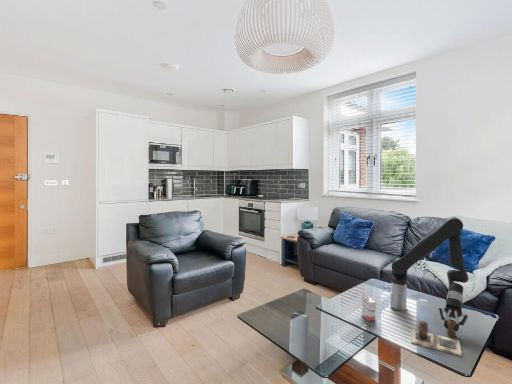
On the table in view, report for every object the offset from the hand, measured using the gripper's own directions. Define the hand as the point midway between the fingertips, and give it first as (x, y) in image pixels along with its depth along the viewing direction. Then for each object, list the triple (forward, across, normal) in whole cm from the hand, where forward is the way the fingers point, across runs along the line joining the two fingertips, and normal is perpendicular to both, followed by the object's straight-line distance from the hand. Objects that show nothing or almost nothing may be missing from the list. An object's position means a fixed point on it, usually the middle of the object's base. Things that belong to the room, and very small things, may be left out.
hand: (451, 329), depth 154 cm
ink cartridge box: (+9, -42, -3) cm, 43 cm away
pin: (+11, -11, -7) cm, 17 cm away
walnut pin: (+2, 0, +4) cm, 5 cm away
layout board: (+12, -6, -6) cm, 14 cm away
